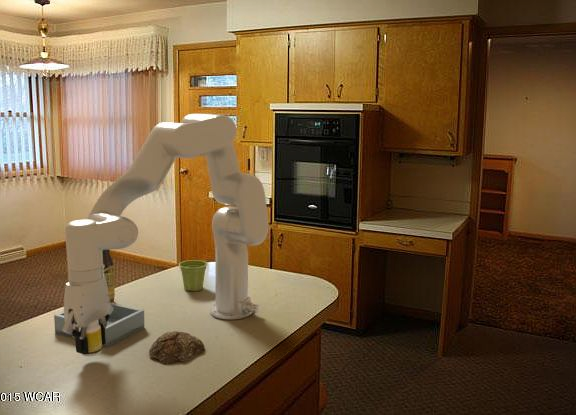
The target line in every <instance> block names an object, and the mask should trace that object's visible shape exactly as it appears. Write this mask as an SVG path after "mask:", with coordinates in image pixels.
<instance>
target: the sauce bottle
mask: <svg viewBox="0 0 576 415" xmlns="http://www.w3.org/2000/svg"><path fill="white" fill-rule="evenodd" d="M102 256H103V264H104V265H105V268H103V272H104V276H105V278H106V282H107V286H108V291H109V299H110V303H114V301H115V292H116V290H115V264H114V261H113V259H112V255H111V252H110V250H103V251H102Z"/></svg>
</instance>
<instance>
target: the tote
mask: <svg viewBox="0 0 576 415" xmlns="http://www.w3.org/2000/svg"><path fill="white" fill-rule="evenodd" d="M110 304H111V305H112V307H113V308H114V309H113V311H112V313H111V314H110V315H109V319H108V321H107V327H106V328H105V337H106V344H104V345H102V347H105V348H108V347H111V346H112V345H114V344H116V343H118V342H120V341H122V340H123V339H126V338H127V337H129V336H131V335H134V334H135V333H137V332H138V331H140V330H143V329H144V328H145V310H144V309H141V308H137V307H132V306H127V305H123V304H120V303H119V304H118V303H114V302H113V303H110ZM53 319H54V320H53V321H54V333H55V334H57V333H58V334H57V335H60V334H61V336H64V335H65V337H67V338H72V339H75V337H73V336H72V335H70V334H69V333H66V332H63V331H62V329H63V327H64V325H65V320H64V310H63V311H61V312H58V313H55V314H54V315H53ZM73 325H74V324H73ZM72 328H73V326H72ZM79 328H80V327H79ZM78 331H79V330H78Z"/></svg>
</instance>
